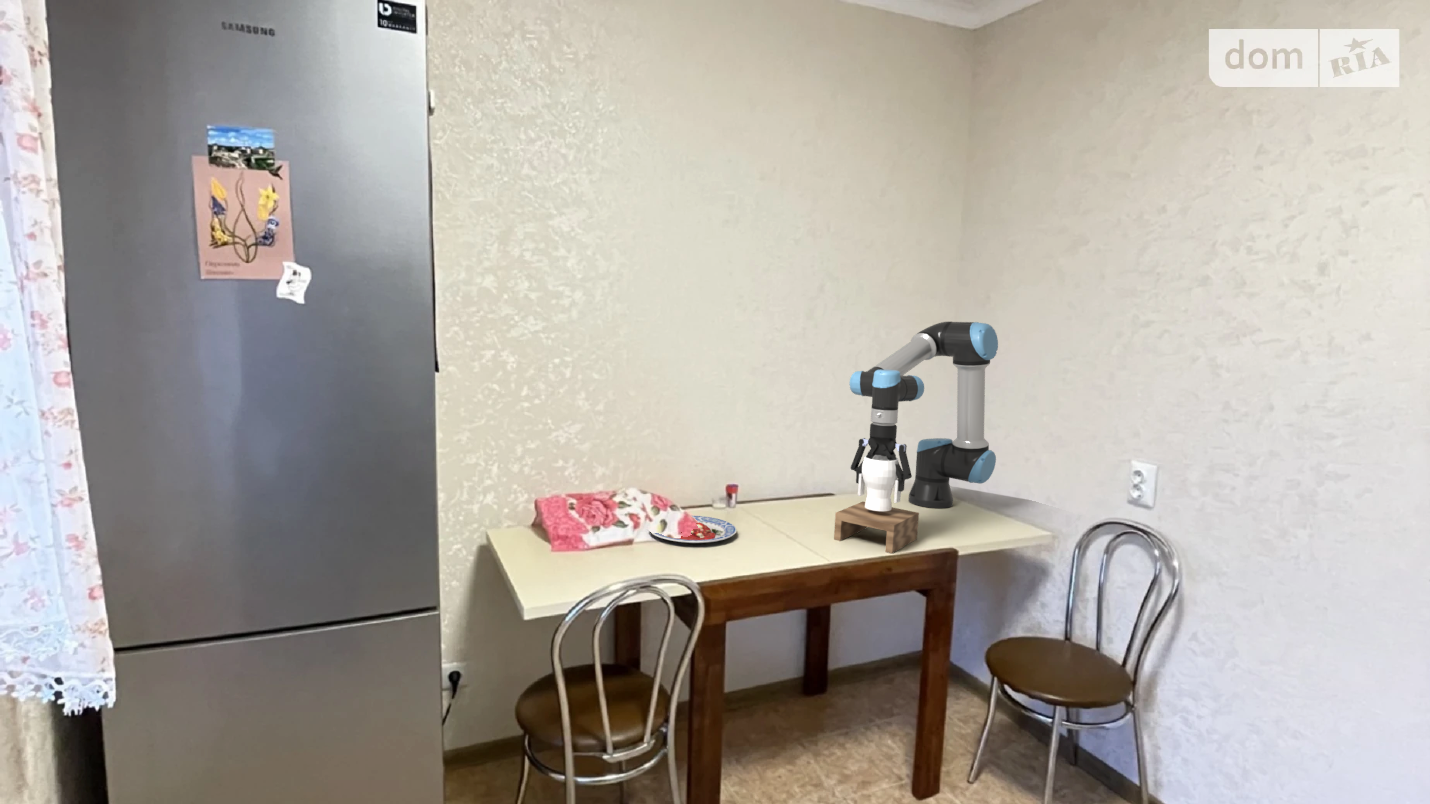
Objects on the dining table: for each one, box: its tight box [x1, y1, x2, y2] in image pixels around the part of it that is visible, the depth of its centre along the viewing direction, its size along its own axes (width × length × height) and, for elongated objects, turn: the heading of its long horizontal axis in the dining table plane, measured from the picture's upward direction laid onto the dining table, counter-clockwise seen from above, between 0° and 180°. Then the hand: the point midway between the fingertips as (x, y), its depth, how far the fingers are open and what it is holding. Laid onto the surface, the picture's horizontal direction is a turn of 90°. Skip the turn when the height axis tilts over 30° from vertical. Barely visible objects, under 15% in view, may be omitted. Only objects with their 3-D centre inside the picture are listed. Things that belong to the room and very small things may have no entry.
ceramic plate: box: [652, 515, 737, 544], centre depth 211 cm, size 26×26×3 cm
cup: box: [862, 454, 899, 511], centre depth 211 cm, size 11×11×15 cm
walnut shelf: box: [833, 501, 920, 554], centre depth 213 cm, size 18×18×8 cm
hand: (878, 498), depth 212 cm, fingers closed on cup, 11 cm apart
